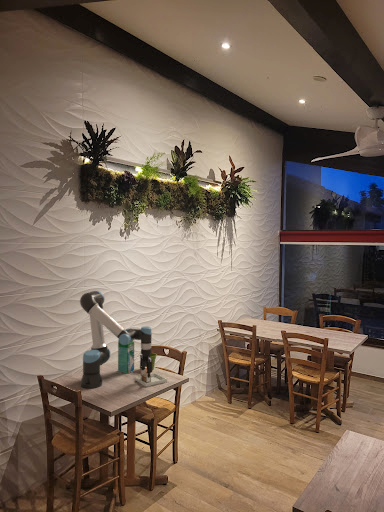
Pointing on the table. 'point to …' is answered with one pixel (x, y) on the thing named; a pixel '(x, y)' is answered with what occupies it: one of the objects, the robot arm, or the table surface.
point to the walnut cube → (143, 378)
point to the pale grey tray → (152, 380)
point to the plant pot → (153, 359)
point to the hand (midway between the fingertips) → (145, 380)
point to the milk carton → (126, 357)
